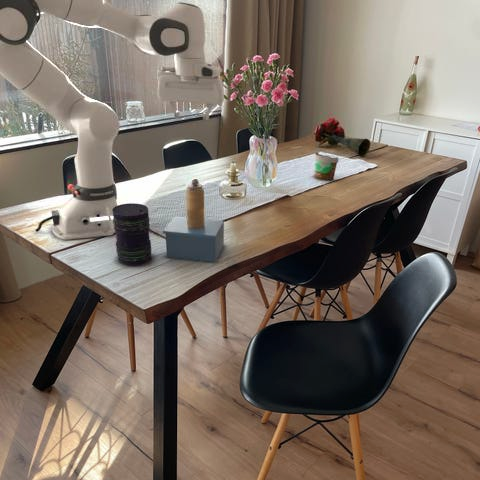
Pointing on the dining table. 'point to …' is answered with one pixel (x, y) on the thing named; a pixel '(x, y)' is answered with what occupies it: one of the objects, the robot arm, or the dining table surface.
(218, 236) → the storage box
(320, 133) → the red rose bouquet
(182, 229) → the box lid
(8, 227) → the dining table surface
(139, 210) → the black cylinder
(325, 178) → the food container
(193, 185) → the pepper mill
